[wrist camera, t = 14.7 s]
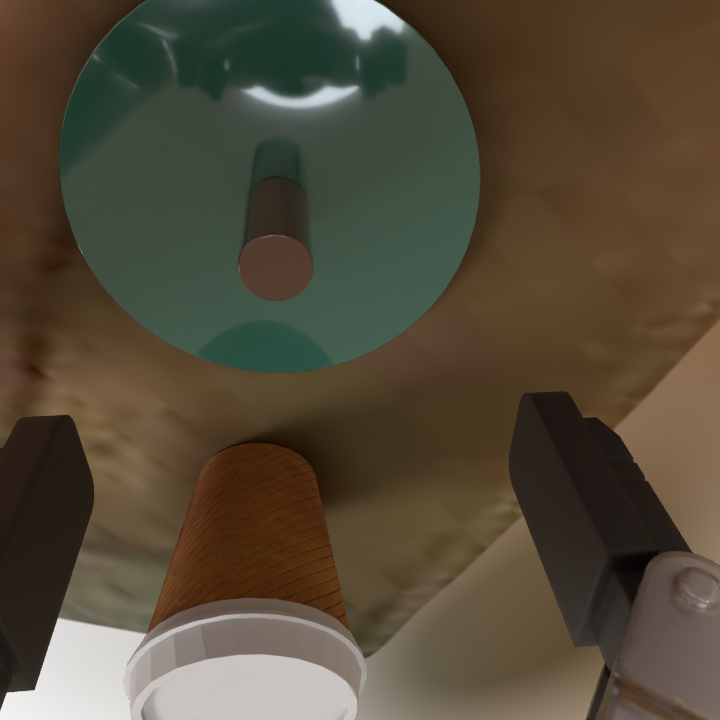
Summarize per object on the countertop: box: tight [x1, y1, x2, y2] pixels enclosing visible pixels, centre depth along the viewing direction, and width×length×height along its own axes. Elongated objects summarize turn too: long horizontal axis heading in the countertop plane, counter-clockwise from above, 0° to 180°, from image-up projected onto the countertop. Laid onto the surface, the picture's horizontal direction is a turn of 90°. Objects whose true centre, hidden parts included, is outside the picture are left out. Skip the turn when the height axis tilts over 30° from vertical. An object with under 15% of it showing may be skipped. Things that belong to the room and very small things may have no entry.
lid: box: [58, 0, 481, 372], centre depth 23 cm, size 16×16×6 cm
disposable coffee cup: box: [124, 443, 367, 720], centre depth 29 cm, size 10×10×12 cm
